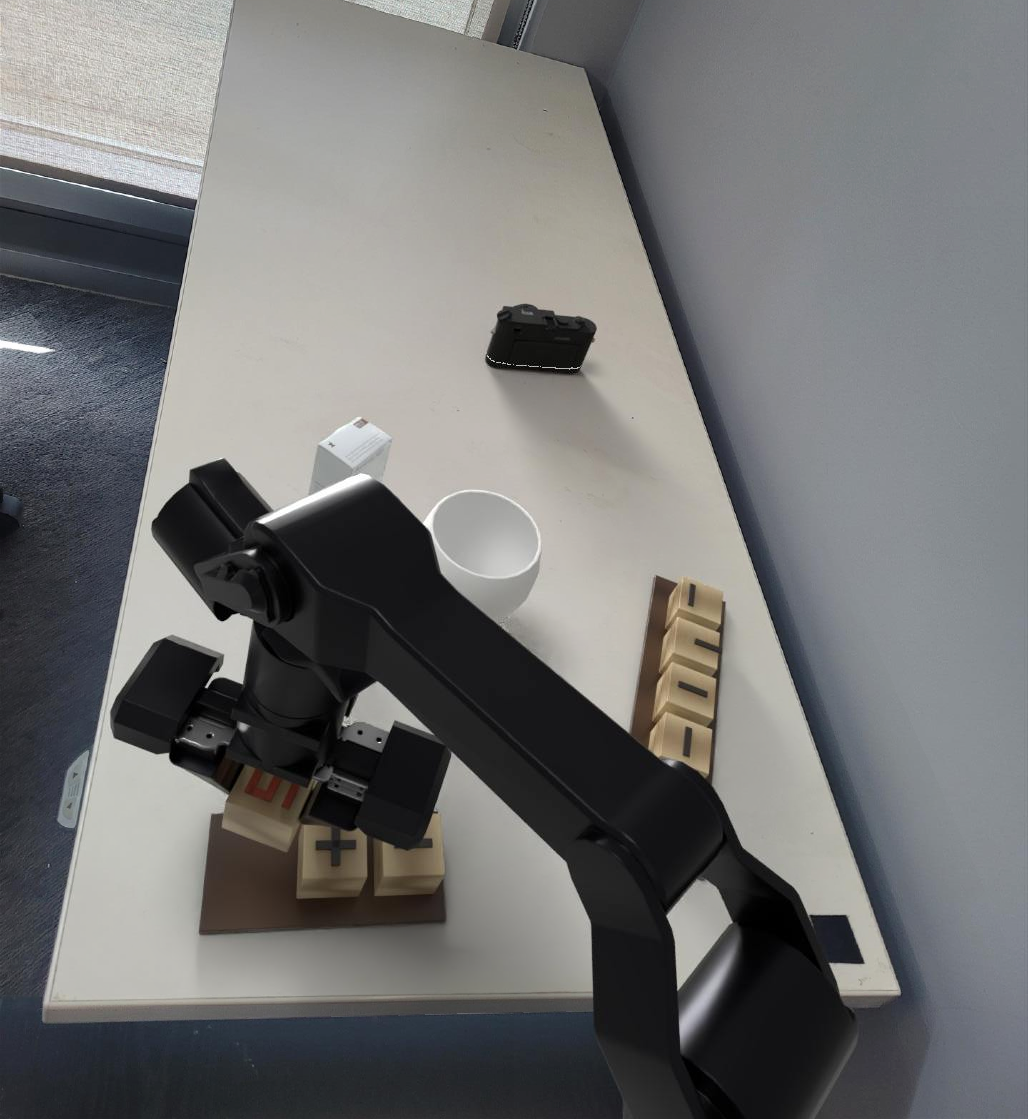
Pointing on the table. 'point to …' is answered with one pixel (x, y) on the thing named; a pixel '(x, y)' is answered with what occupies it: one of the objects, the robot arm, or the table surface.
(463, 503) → the cup
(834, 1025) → the robot arm
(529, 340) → the camera
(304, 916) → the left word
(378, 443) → the cosmetic box
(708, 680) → the letter block display
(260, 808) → the letter s tile
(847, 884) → the table surface
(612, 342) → the table surface
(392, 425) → the table surface
